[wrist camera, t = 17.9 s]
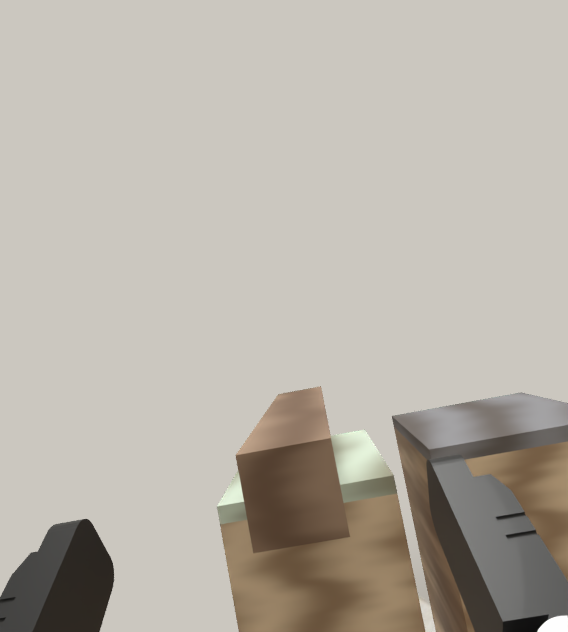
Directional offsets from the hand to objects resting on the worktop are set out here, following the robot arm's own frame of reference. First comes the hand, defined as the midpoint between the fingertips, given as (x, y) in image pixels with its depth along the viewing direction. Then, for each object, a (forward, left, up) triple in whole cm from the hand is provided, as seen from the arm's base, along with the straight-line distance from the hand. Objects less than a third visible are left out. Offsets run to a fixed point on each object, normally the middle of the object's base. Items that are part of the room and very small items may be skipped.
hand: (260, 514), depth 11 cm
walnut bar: (0, +20, -4) cm, 21 cm away
